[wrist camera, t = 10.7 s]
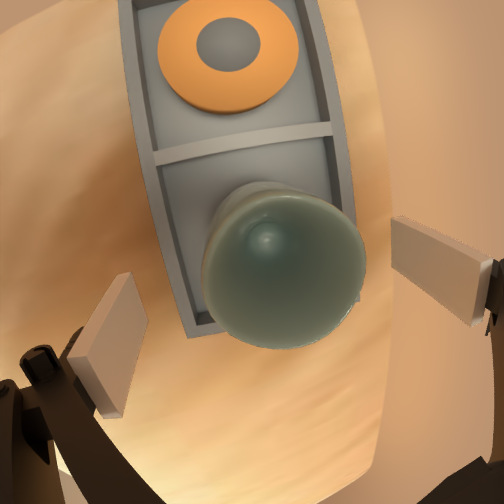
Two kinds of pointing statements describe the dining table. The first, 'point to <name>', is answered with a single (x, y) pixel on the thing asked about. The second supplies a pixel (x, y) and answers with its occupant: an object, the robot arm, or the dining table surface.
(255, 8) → the orange round thick disc
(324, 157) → the tray
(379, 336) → the dining table surface
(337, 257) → the cup
